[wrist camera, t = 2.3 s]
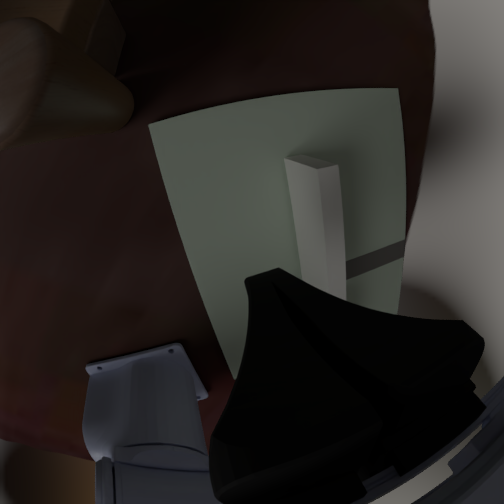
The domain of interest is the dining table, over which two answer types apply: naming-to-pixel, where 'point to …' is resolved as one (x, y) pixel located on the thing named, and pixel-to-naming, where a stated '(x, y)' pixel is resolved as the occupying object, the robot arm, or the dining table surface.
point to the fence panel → (318, 222)
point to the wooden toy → (60, 71)
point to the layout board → (284, 194)
